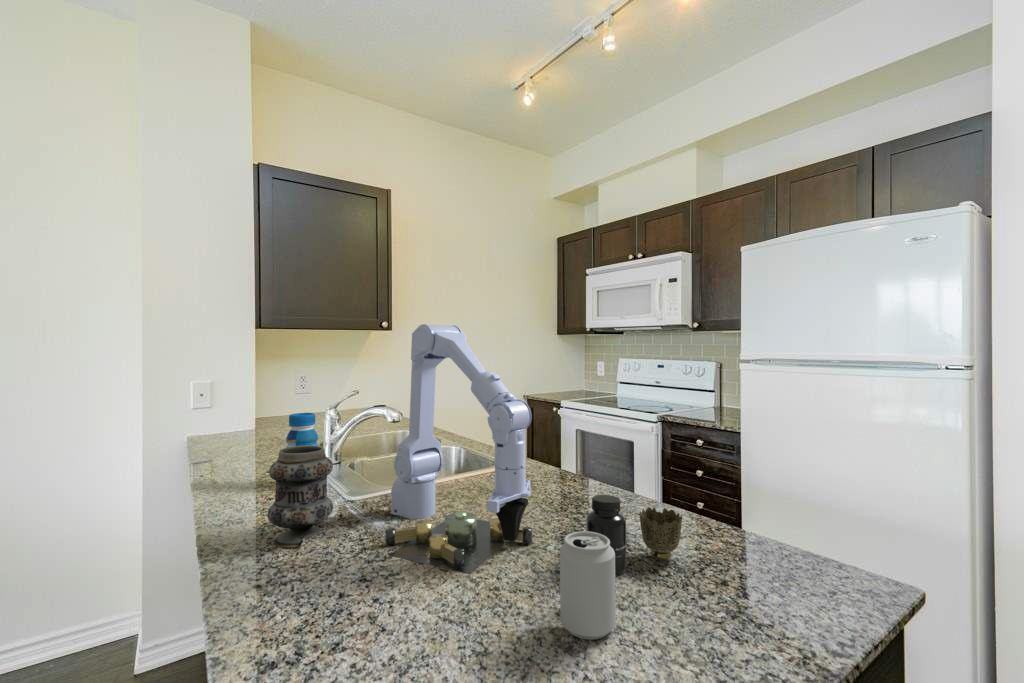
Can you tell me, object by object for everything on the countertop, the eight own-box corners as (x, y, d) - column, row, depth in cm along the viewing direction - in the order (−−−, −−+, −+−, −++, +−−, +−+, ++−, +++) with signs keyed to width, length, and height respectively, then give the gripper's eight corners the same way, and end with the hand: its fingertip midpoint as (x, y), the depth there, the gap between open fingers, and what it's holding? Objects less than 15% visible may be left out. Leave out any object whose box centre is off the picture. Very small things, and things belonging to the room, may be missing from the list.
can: (555, 612, 68) (555, 529, 68) (606, 610, 69) (606, 527, 69) (566, 645, 61) (565, 551, 61) (623, 641, 61) (622, 548, 62)
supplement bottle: (627, 579, 78) (626, 506, 78) (585, 575, 79) (584, 503, 79) (625, 561, 85) (625, 493, 85) (587, 557, 86) (586, 491, 86)
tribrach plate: (387, 561, 85) (387, 525, 85) (454, 520, 105) (454, 491, 105) (469, 581, 78) (469, 542, 78) (524, 533, 97) (524, 502, 97)
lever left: (430, 534, 93) (430, 519, 93) (433, 540, 90) (433, 525, 90) (385, 540, 90) (385, 525, 90) (386, 547, 87) (386, 531, 87)
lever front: (426, 554, 84) (426, 537, 85) (441, 548, 87) (441, 532, 87) (454, 570, 78) (454, 552, 78) (470, 564, 80) (469, 547, 80)
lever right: (487, 538, 91) (486, 522, 91) (494, 532, 94) (494, 517, 94) (528, 546, 88) (528, 529, 88) (535, 539, 91) (535, 523, 91)
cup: (682, 552, 88) (682, 509, 88) (683, 570, 81) (682, 523, 81) (641, 547, 90) (640, 505, 91) (638, 563, 83) (637, 518, 84)
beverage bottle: (310, 490, 128) (310, 416, 128) (279, 490, 128) (279, 416, 128) (323, 481, 136) (323, 412, 136) (294, 481, 136) (294, 412, 137)
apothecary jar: (345, 532, 99) (345, 445, 99) (297, 555, 88) (297, 457, 88) (304, 523, 104) (304, 441, 104) (253, 544, 93) (253, 452, 93)
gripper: (512, 478, 80) (513, 559, 80) (544, 459, 93) (545, 529, 93) (476, 473, 83) (476, 551, 83) (512, 456, 96) (512, 523, 96)
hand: (510, 539), depth 88 cm, fingers closed
